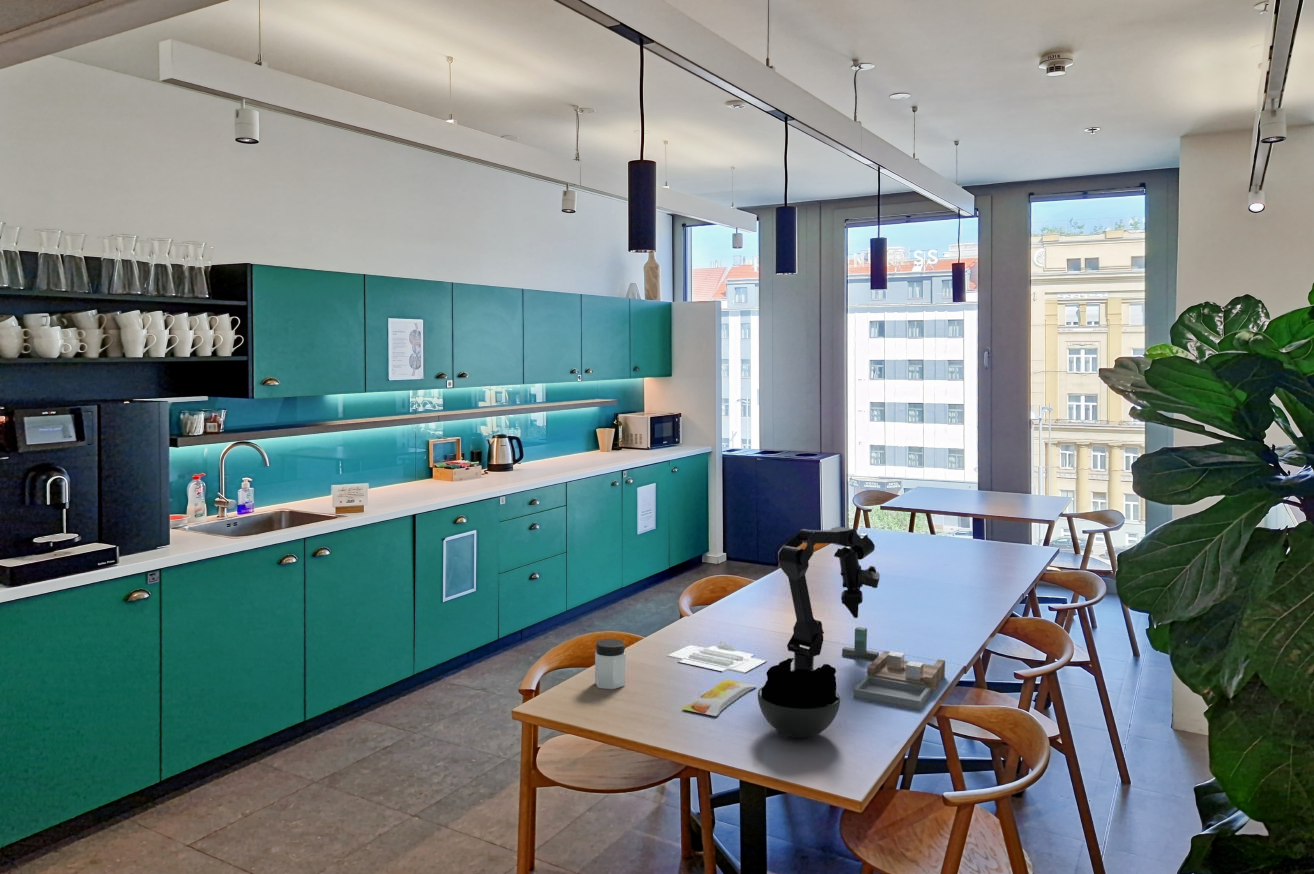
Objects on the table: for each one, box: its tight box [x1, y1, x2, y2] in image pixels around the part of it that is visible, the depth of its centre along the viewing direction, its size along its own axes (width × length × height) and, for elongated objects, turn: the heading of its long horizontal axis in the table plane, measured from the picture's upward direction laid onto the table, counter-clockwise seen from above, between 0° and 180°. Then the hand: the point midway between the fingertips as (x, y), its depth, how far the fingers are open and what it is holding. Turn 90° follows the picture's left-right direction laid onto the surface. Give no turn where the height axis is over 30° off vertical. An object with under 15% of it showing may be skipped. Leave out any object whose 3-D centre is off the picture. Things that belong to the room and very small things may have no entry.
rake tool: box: [841, 626, 880, 662], centre depth 282 cm, size 3×11×9 cm, turn 60°
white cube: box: [887, 651, 905, 670], centre depth 263 cm, size 4×4×4 cm
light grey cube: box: [905, 660, 924, 681], centre depth 254 cm, size 4×4×4 cm
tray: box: [667, 641, 767, 674], centre depth 279 cm, size 20×28×4 cm
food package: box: [682, 679, 757, 717], centre depth 244 cm, size 27×2×10 cm
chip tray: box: [852, 675, 932, 711], centre depth 247 cm, size 13×18×2 cm
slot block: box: [866, 650, 946, 696], centre depth 261 cm, size 18×18×5 cm
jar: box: [594, 638, 626, 690], centre depth 254 cm, size 9×8×12 cm
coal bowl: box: [757, 657, 841, 739], centre depth 219 cm, size 20×20×19 cm
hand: (856, 610), depth 283 cm, fingers open, 9 cm apart
